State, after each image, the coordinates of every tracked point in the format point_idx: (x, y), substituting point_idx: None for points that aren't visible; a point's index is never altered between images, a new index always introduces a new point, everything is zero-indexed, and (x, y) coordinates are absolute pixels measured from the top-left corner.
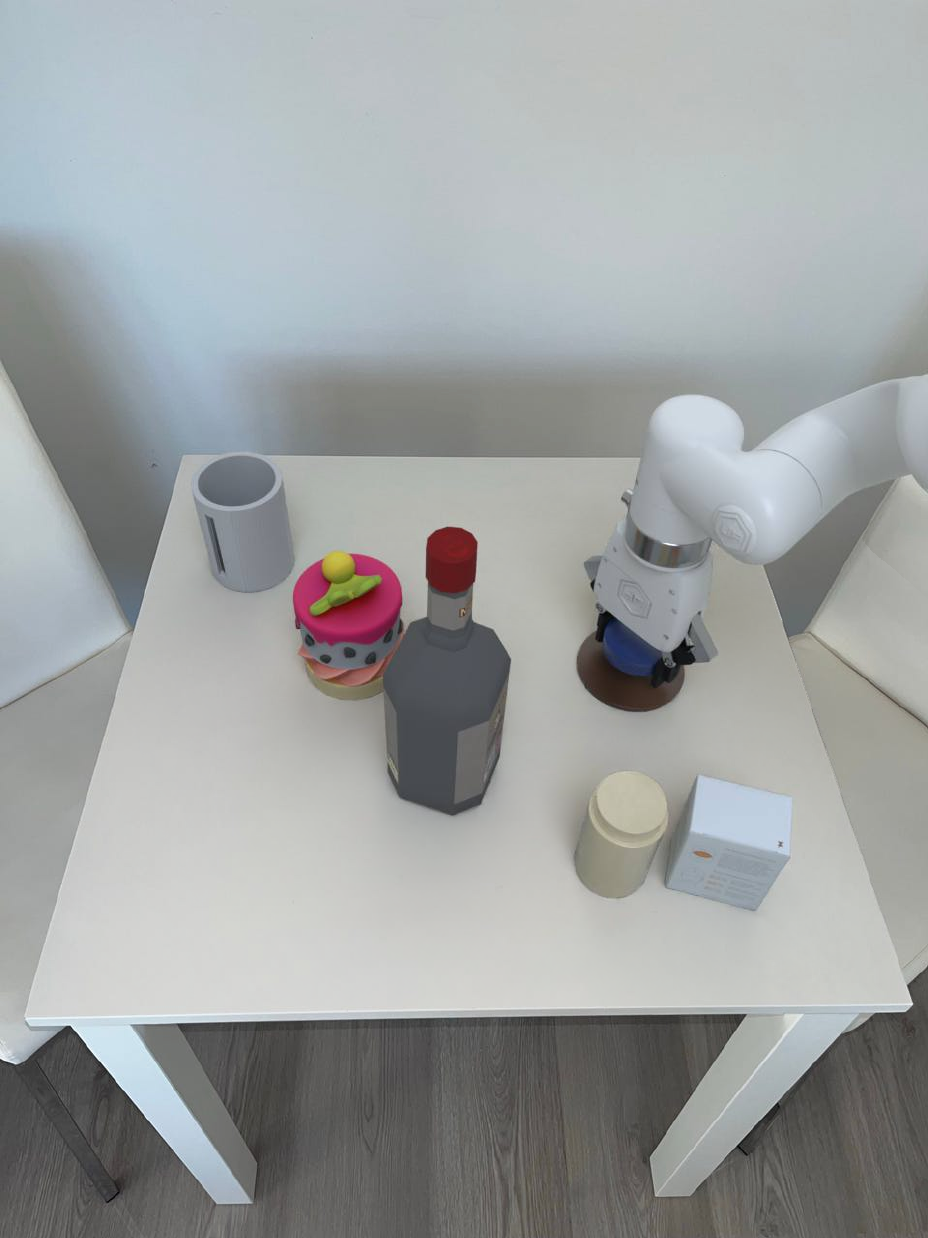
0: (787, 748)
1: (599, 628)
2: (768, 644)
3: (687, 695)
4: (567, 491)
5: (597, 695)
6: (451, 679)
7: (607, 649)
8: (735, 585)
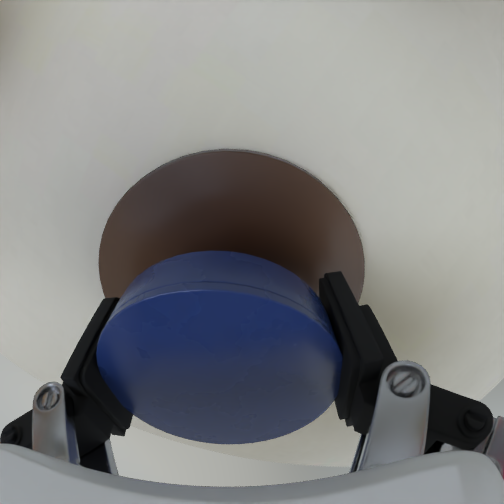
0: (23, 354)
1: (351, 311)
2: (171, 434)
3: None
4: (501, 366)
5: (187, 156)
6: None
7: (244, 281)
8: (271, 451)
